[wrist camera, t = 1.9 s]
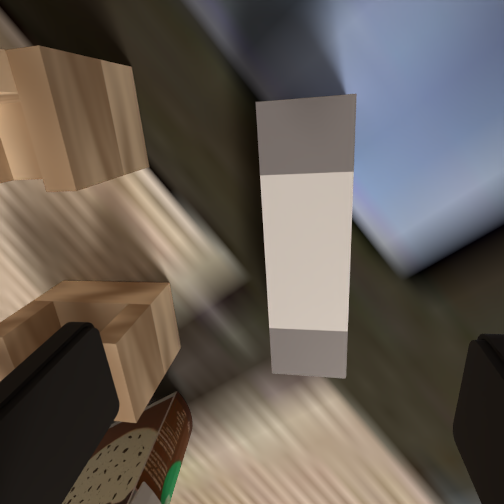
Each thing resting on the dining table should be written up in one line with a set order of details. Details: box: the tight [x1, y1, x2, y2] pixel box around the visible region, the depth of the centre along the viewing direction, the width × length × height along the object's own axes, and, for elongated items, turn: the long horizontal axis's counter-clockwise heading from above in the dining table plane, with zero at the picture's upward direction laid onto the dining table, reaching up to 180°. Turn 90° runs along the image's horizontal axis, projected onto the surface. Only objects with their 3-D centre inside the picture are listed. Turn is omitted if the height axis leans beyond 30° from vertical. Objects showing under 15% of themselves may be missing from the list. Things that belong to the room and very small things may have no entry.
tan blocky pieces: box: [0, 46, 181, 423], centre depth 19 cm, size 8×19×11 cm, turn 4°
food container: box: [62, 391, 192, 504], centre depth 26 cm, size 12×6×10 cm, turn 127°
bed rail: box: [256, 94, 356, 378], centre depth 19 cm, size 4×14×5 cm, turn 4°
